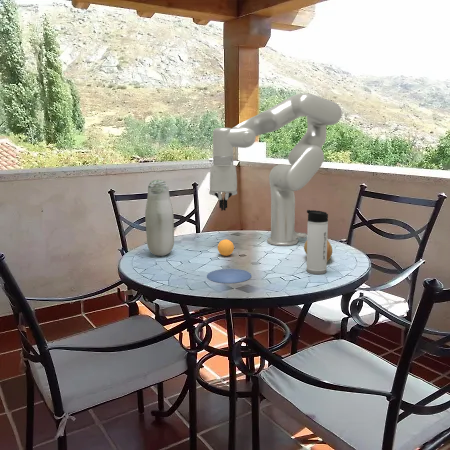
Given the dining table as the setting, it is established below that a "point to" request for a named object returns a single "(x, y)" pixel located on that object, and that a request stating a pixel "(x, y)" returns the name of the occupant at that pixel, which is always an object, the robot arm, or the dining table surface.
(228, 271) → the disc
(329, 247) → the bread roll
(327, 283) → the dining table surface
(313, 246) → the travel mug
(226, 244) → the ball
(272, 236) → the robot arm
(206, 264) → the dining table surface
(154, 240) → the grey beige bottle
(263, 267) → the dining table surface
